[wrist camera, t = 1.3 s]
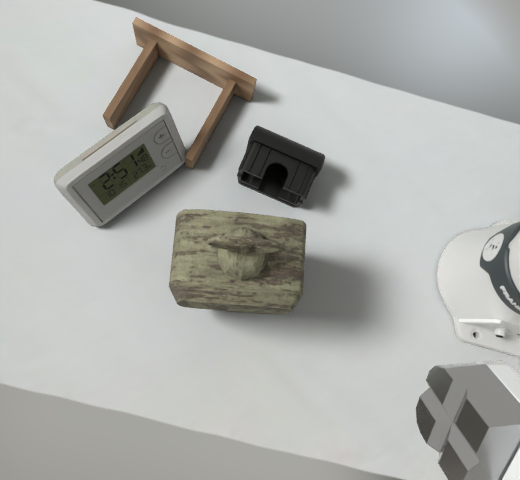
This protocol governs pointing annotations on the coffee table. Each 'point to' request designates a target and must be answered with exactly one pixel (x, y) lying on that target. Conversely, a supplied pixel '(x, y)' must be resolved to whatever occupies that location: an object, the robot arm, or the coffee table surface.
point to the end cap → (279, 167)
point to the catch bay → (190, 60)
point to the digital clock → (122, 165)
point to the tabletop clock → (237, 261)
